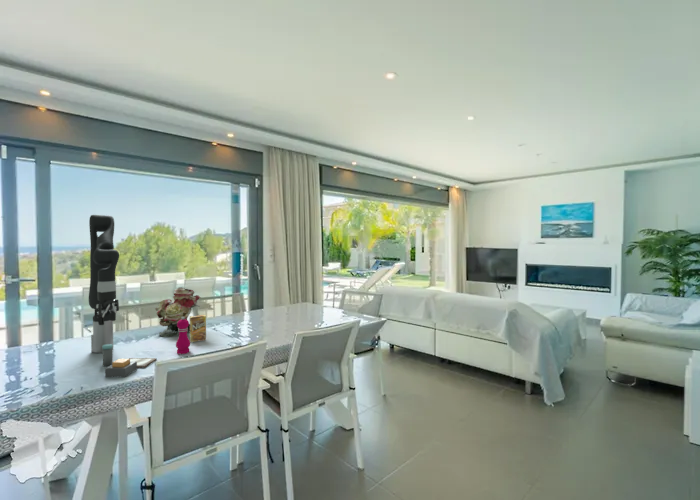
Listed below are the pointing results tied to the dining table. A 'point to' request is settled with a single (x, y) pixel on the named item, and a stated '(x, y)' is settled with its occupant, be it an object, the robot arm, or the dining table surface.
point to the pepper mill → (182, 336)
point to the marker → (107, 355)
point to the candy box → (197, 328)
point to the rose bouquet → (176, 310)
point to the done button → (121, 363)
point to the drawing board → (143, 361)
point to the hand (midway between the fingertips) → (107, 322)
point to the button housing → (121, 370)
